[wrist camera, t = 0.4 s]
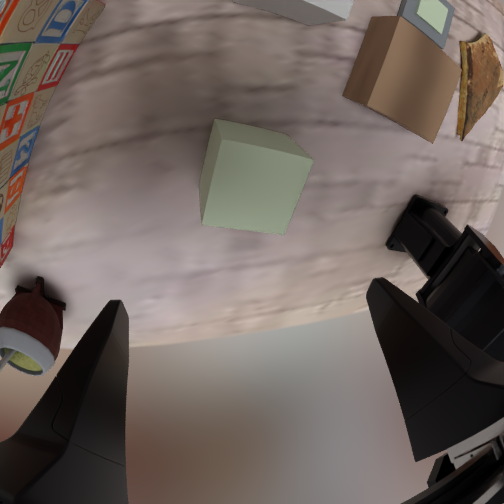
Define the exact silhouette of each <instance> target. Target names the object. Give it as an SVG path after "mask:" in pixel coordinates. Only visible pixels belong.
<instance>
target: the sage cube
mask: <svg viewBox="0 0 504 504" xmlns="http://www.w3.org/2000/svg"><path fill="white" fill-rule="evenodd" d="M313 162H314V159H313V158H312V157H311V156H309V155H308V154H307V153H306V152H305V151H304V150H303V149H302V148H301V147H300V146H299V145H298V144H297V143H296V142H294V141H293V140H292V139H291V138H290V137H289V136H288V135H287V134H283V133H279V132H275V131H271V130H267V129H263V128H259V127H255V126H250V125H246V124H241V123H236V122H231V121H226V120H221V119H216V118H215V119H214V123H213V126H212V130H211V134H210V139H209V143H208V147H207V151H206V155H205V160H204V164H203V168H202V173H201V178H200V182H199V198H200V211H201V223H202V225H206V226H215V227H223V228H232V229H240V230H248V231H256V232H264V233H272V234H280V235H284V234H285V231H286V229H287V226H288V224H289V222H290V219H291V217H292V214H293V212H294V209H295V207H296V204H297V202H298V200H299V197H300V195H301V192H302V190H303V187H304V185H305V182H306V180H307V177H308V175H309V172H310V170H311V167H312V165H313Z"/></svg>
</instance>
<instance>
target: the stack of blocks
mask: <svg viewBox="0 0 504 504" xmlns="http://www.w3.org/2000/svg"><path fill="white" fill-rule="evenodd" d="M104 7H105V4H103V3H101V2H100V1H98V0H0V268H1V266H2V265H3V263H4V261H5V259H6V258H7V256H8V254H9V252H10V250H11V249H12V246H13V235H14V227H15V223H16V219H17V213H18V207H19V202H20V195H21V192H22V188H23V184H24V180H25V176H26V172H27V168H28V164H29V163H28V161H29V158H30V155H31V151H32V148H33V145H34V142H35V138H36V136H37V133H38V130H39V126H40V123H41V121H42V118H43V116H44V113H45V111H46V108H47V106H48V103H49V101H50V99H51V96H52V94H53V92H54V89H55V87H56V85H57V84H58V83H59V81H60V79H61V77H62V75H63V73H64V71H65V69H66V67H67V65H68V63H69V61H70V60H71V58H72V56H73V54H74V53H75V51H76V49H77V47H78V46H79V44H80V42H81V41H82V40H83V38H84V37H85V35H86V33H87V32H88V30H89V29H90V27H91V26H92V24H93V23H94V21H95V20H96V19H97V17H98V16H99V14H100V13H101V11H102V10H103V9H104Z"/></svg>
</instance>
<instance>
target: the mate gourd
mask: <svg viewBox="0 0 504 504" xmlns="http://www.w3.org/2000/svg"><path fill="white" fill-rule="evenodd" d="M15 292H16V294H15V295H14V296H13V298H12V299H11V300H10V301H9V302H8V303H7V304H6V305H5V306H4V308H3V309H2V311H1V313H0V356H1V358H2V359H1V361H0V371H1V370H2V369H3V367H4V366H5V364H6V363H8V364H9V365H10V366H12V367H13V368H15V369H17V370H19V371H21V372H23V373H26V374H29V375H34V376H39V375H43V374H45V373H46V372H47V371H48V370H49V369H50V368H51V367H52V366H53V365H54V363H55V360H56V358H57V356H58V353H59V350H60V343H61V337H62V330H63V310H64V311H65V309H66V303H64V302H61V301H58V300H56V299H53V298H50V297H47V296H45V295H44V279H43V278H42V277H39V276H37V278H36V286H35V288H34V290H33V291H31V290H28V289H26V288H23V287H21V286H18V285H17V287H16V289H15Z"/></svg>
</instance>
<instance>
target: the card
mask: <svg viewBox="0 0 504 504" xmlns="http://www.w3.org/2000/svg"><path fill="white" fill-rule="evenodd" d="M454 9H455V8H454V7H452V6H451V5H450V4H449V3H448V2H447V1H446V0H402V2H401V6H400V9H399V12H398V15H397V16H401V17H402V18H404V19H405V20H406V21H408V22H409V23H410V24H412V25H413V26H414V27H415V28H417V29H418V30H419V31H420V32H422V33H423V34H424V35H425V36H426V37H428V38H429V39H430V40H431V41H432V42H433V43H435V44H436V45H437V46H438V47H439V48H440V49H444V46H445V43H446V39H447V36H448V32H449V29H450V25H451V21H452V17H453V13H454Z"/></svg>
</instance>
